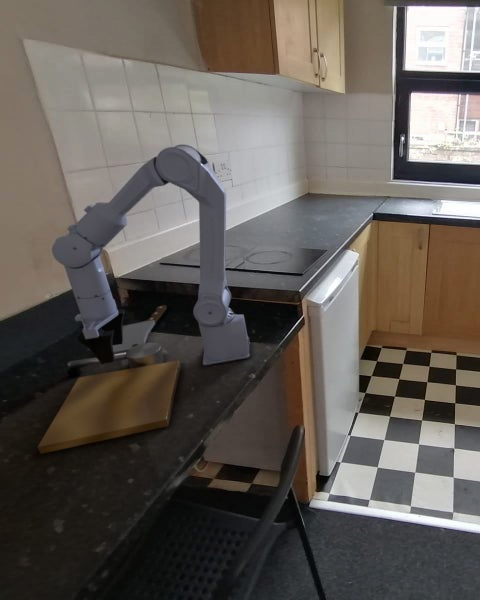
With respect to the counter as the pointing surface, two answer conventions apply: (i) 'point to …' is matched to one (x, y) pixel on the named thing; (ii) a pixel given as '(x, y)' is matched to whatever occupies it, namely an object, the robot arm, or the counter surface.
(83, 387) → the chopping board
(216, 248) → the robot arm
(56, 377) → the counter surface
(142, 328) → the kitchen cleaver
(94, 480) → the counter surface
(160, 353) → the grey disc-end rod
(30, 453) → the counter surface
